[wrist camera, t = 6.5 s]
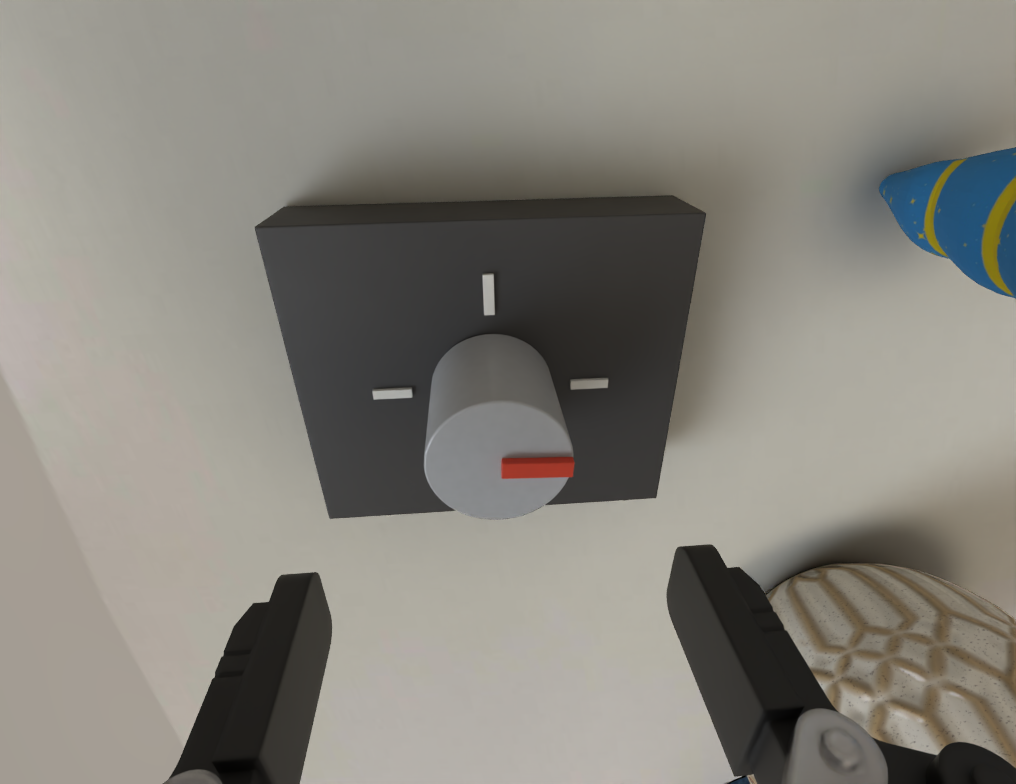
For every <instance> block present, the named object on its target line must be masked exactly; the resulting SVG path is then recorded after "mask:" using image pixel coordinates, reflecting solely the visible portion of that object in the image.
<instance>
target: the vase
mask: <svg viewBox="0 0 1016 784" xmlns="http://www.w3.org/2000/svg"><path fill="white" fill-rule="evenodd" d="M766 597H767V599H768V600H769V602H770V604H771V605H772V607H773V611H774V612H776V613H777V615H778V617H779V618H780V620H781V622H782V623H783V625H784V629H785V631H786V630H787V632H788V633H789V635H790V637H791V638H792V640H793V642H794V643H795V645H796V646H797V648H798V650H799V651H800V653H801V655H802V656H803V658H804V660H805V661H806V663H807V665H808V666H809V668H810V670H811V671H812V673H813V675H814V676H815V678H816V679H817V681H818V683H819V684H820V686H821V688H822V689H823V691H824V693H825V694H826V696H827V698H828V699H829V701H830V702H831V704H832V705H833V706H834V708H835V709H836V710H837V711H838V712H839V713H841V714H843V715H845V716H847V717H849V718H850V719H852V720H853V721H855V722H856V723H858V724H859V725H860V726H861V727H862V728H863V729H865V730H866V731H867V733H868V734H869V735H870V736H871V737H873V738H875V739H877V740H880V741H883V742H886V743H890V744H894V745H898V746H902V747H906V748H910V749H914V750H918V751H922V752H926V753H930V754H934V755H938V754H939V752H940V751H941V750H942V749H943V748H944V747H945V746H946V745H948V744H950V743H954V742H967V743H971V744H975V745H978V746H981V747H983V748H985V749H987V750H990V751H992V752H993V753H995V754H997V755H998V756H1000V757H1002V758H1003V759H1004V760H1006V761H1007V762H1009V763H1010V764H1011V765H1012V766H1014V767H1015V768H1016V619H1015V618H1014V617H1012V616H1011V615H1009V614H1008V613H1007V612H1005V611H1004V610H1002V609H1001V608H1000V607H998V606H996V605H994V604H992V603H991V602H989V601H987V600H985V599H984V598H982V597H980V596H978V595H976V594H975V593H973V592H971V591H969V590H966V589H964V588H962V587H960V586H958V585H956V584H954V583H951V582H949V581H947V580H944V579H942V578H939V577H936V576H933V575H930V574H928V573H925V572H922V571H918V570H914V569H909V568H904V567H899V566H893V565H887V564H873V563H840V564H832V565H826V566H821V567H817V568H814V569H811V570H808V571H805V572H803V573H800V574H798V575H796V576H794V577H792V578H790V579H788V580H786V581H784V582H783V583H781V584H780V585H778V586H777V587H775V588H774V589H773V590H771V591H770V592H769V593H768V594H767V595H766ZM747 777H748V780H749V783H750V784H757V782H756V779H755V777H754V775H747Z"/></svg>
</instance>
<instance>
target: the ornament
mask: <svg viewBox="0 0 1016 784" xmlns="http://www.w3.org/2000/svg"><path fill="white" fill-rule="evenodd" d="M879 191H880V194H881V196H882V197H883V198H884V199H885V201H886V202H887V204H888V205H889V207H890V209H891V211H892V213H893V214H894V216H895V218H896V220H897V222H898V224H899V225H900V227H901V229H902V230H903V231H904V233H905V234H906V235H907V236H908V237H909V239H910V240H911V241H912V242H914V243H915V244H916V245H917V246H919V247H920V248H922V249H923V250H925V251H927V252H929V253H932V254H934V255H937V256H940V257H944V258H949V259H951V260H952V261H953V262H954V264H955V265H956V266H957V267H958V268H959V269H960V270H961V271H962V272H963V273H964V274H965V275H967V276H968V277H969V278H971V279H972V280H973V281H975V282H976V283H978V284H979V285H981V286H983V287H985V288H987V289H990V290H992V291H994V292H996V293H998V294H1001V295H1005V296H1008V297H1013V298H1016V147H1015V148H1010V149H1005V150H1000V151H995V152H991V153H986V154H982V155H977V156H973V157H968V158H964V159H955V160H946V161H939V162H934V163H931V164H927V165H924V166H920V167H917V168H914V169H911V170H907V171H903V172H899V173H894V174H892V175H889V176H888V177H886V178H885V179H884V180H883V181H882V183H881V184H880V187H879Z"/></svg>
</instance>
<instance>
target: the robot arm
mask: <svg viewBox="0 0 1016 784" xmlns="http://www.w3.org/2000/svg"><path fill="white" fill-rule="evenodd" d="M667 605H668V610H669V614H670V617H671V620H672V623H673V625H674V628H675V630H676V632H677V635H678V637H679V640H680V642H681V645H682V647H683V650H684V652H685V655H686V657H687V660H688V662H689V665H690V667H691V670H692V672H693V675H694V677H695V680H696V682H697V685H698V687H699V690H700V692H701V695H702V697H703V700H704V702H705V705H706V707H707V709H708V712H709V714H710V717H711V719H712V722H713V724H714V727H715V729H716V732H717V734H718V737H719V739H720V742H721V744H722V747H723V749H724V752H725V754H726V757H727V759H728V762H729V764H730V767H731V769H732V772H733V774H734V776H744V775H754V777H755V779H756V782H757V784H1016V768H1015V767H1014V766H1012V765H1011V764H1010V763H1009V762H1007V761H1006V760H1004V759H1003V758H1002V757H1000V756H998V755H997V754H995V753H993V752H992V751H990V750H987V749H985V748H983V747H981V746H978V745H975V744H971V743H967V742H954V743H950V744H948V745H946V746H945V747H944V748H943V749H942V750H941V751H940V752H939V754H938V755H934V754H930V753H926V752H922V751H918V750H914V749H910V748H906V747H902V746H898V745H894V744H890V743H886V742H883V741H880V740H877V739H875V738H873V737H871V736H870V735H869V734H868V733H867V731H866V730H865V729H863V728H862V727H861V726H860V725H859V724H858V723H856V722H855V721H853V720H852V719H850V718H849V717H847V716H845V715H843V714H841V713H839V712H838V711H837V710H836V709H835V708H834V706H833V705H832V704H831V702H830V701H829V699H828V698H827V696H826V694H825V693H824V691H823V689H822V688H821V686H820V684H819V683H818V681H817V679H816V678H815V676H814V675H813V673H812V671H811V670H810V668H809V666H808V665H807V663H806V661H805V660H804V658H803V656H802V655H801V653H800V651H799V650H798V648H797V646H796V645H795V643H794V642H793V640H792V638H791V637H790V635H789V633H788V632H787V630H786V631H785V629H784V625H783V623H782V622H781V620H780V618H779V617H778V615H777V613H776V612H774V611H773V607H772V605H771V604H770V602H769V600H768V599H767V597H766V595H765V594H764V592H763V590H762V589H761V587H760V585H758V584H757V583H756V582H755V581H754V580H753V579H752V578H751V577H750V576H748V575H747V574H746V573H745V572H744V571H743V570H742V569H741V568H740V567H734V568H727V567H726V565H725V563H724V561H723V560H722V558H721V556H720V554H719V552H718V551H717V549H716V548H715V547H714V546H713V545H696V546H683V547H678V548H677V549H676V552H675V556H674V560H673V565H672V570H671V574H670V579H669V583H668V588H667ZM331 637H332V620H331V614H330V611H329V607H328V604H327V600H326V597H325V593H324V590H323V586H322V583H321V579H320V576H319V574H318V573H316V572H314V573H301V574H287V575H281V576H280V577H279V578H278V580H277V582H276V584H275V587H274V589H273V592H272V595H271V598H270V601H269V602H264V603H253V604H252V606H251V607H250V608H249V609H248V610H247V611H246V613H245V614H244V615H243V616H242V617H241V619H240V620H239V621H238V622H237V623H236V625H235V626H234V628H233V630H232V633H231V635H230V638H229V640H228V643H227V645H226V647H225V650H224V656H223V657H221V660H220V662H219V665H218V667H217V669H216V672H215V678H213V679H212V682H211V684H210V687H209V689H208V691H207V694H206V696H205V699H204V701H203V704H202V706H201V709H200V711H199V713H198V716H197V718H196V721H195V723H194V726H193V728H192V731H191V733H190V736H189V738H188V740H187V743H186V745H185V748H184V750H183V753H182V755H181V758H180V760H179V762H178V764H177V766H176V768H175V770H174V771H173V773H172V775H171V776H170V778H169V779H168V780H167V781H166V782H164V783H163V784H300V779H301V775H302V770H303V766H304V761H305V757H306V752H307V748H308V743H309V739H310V734H311V730H312V725H313V721H314V717H315V712H316V708H317V703H318V699H319V694H320V690H321V685H322V681H323V676H324V672H325V667H326V663H327V658H328V654H329V649H330V644H331Z"/></svg>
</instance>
